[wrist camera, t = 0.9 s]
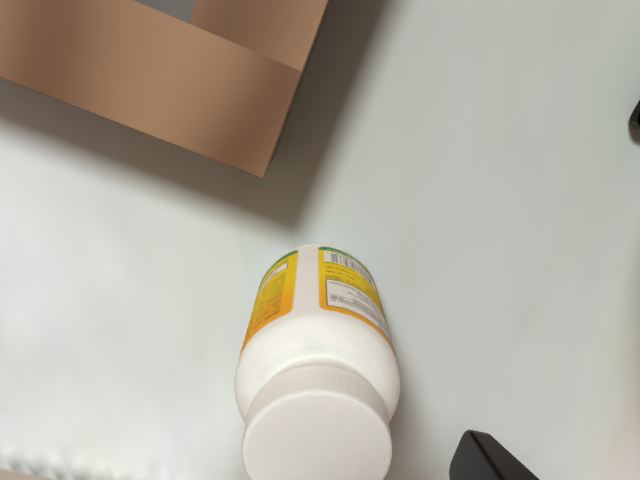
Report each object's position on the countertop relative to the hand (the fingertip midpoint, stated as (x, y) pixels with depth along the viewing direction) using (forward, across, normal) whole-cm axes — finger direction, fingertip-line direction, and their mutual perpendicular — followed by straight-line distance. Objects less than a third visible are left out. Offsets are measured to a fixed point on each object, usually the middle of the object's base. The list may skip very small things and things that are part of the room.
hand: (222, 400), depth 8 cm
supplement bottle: (+12, -2, +3) cm, 13 cm away
